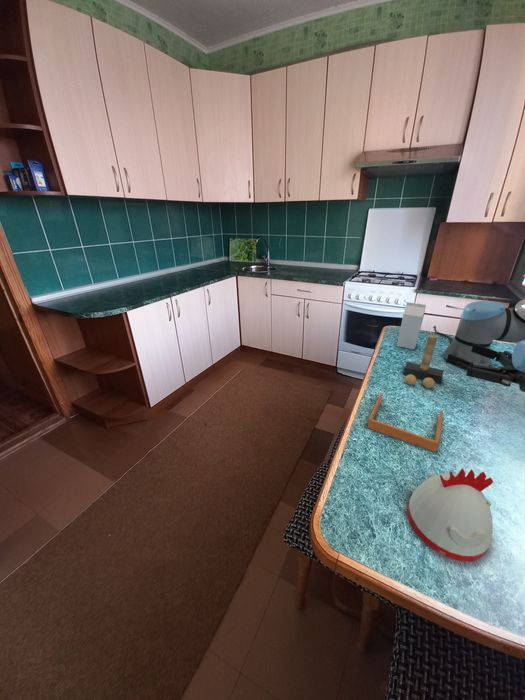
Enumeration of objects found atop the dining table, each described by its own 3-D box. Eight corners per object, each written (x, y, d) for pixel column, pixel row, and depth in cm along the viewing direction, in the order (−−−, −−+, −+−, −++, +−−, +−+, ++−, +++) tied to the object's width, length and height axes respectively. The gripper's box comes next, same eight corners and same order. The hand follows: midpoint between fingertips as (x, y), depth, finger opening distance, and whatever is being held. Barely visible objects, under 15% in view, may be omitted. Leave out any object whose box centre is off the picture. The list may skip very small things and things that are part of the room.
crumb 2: (422, 383, 101) (424, 374, 100) (433, 386, 99) (436, 377, 98) (420, 388, 99) (423, 379, 97) (432, 391, 97) (435, 382, 95)
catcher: (379, 400, 93) (381, 392, 92) (440, 418, 85) (443, 410, 83) (367, 427, 82) (368, 419, 81) (435, 452, 74) (438, 443, 72)
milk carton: (414, 350, 123) (424, 307, 114) (396, 346, 127) (405, 304, 118) (416, 343, 128) (427, 302, 120) (399, 340, 132) (408, 300, 123)
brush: (405, 368, 110) (414, 329, 103) (441, 377, 104) (454, 336, 97) (403, 374, 106) (412, 334, 99) (440, 383, 101) (453, 342, 93)
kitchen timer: (503, 568, 51) (539, 514, 44) (418, 554, 53) (440, 500, 46) (467, 496, 63) (491, 445, 56) (400, 487, 65) (415, 437, 58)
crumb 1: (404, 380, 103) (406, 371, 101) (415, 383, 101) (418, 374, 100) (403, 385, 100) (405, 376, 99) (414, 388, 99) (416, 379, 97)
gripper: (515, 412, 71) (433, 373, 88) (559, 383, 82) (478, 353, 98) (527, 386, 68) (439, 351, 84) (571, 360, 78) (486, 333, 95)
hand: (460, 352), depth 91 cm, fingers open, 13 cm apart
